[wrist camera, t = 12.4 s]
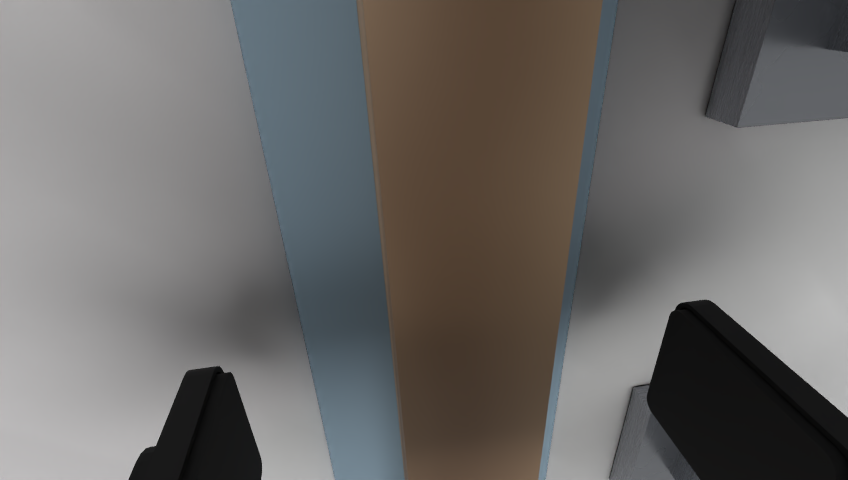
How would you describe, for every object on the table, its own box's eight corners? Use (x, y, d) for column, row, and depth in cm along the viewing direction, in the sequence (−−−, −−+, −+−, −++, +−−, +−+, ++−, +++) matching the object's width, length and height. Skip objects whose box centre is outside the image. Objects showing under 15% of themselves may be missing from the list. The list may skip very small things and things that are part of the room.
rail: (534, -212, 7) (647, -327, 4) (491, 525, 17) (519, 623, 14) (334, -212, 7) (331, -337, 4) (410, 540, 16) (424, 644, 14)
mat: (669, -492, 6) (699, -534, 6) (528, 543, 19) (533, 558, 19) (124, -538, 5) (101, -593, 5) (359, 576, 18) (359, 593, 18)
